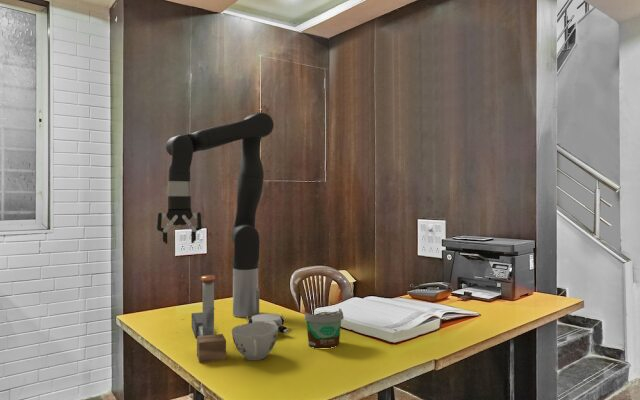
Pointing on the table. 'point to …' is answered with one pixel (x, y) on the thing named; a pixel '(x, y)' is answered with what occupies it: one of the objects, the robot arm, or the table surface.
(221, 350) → the socket
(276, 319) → the robot toy
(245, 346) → the teacup
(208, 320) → the tube
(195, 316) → the sleeve
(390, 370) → the table surface
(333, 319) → the food container
